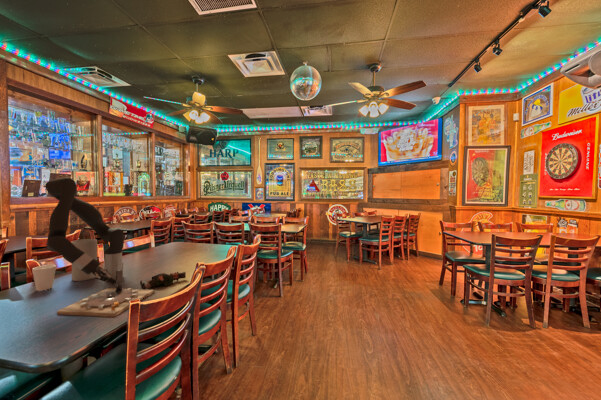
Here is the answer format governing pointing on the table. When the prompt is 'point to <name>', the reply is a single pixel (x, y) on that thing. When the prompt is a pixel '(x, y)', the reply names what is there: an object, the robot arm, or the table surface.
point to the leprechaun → (163, 279)
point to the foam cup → (44, 276)
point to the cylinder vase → (89, 248)
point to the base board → (107, 310)
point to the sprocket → (110, 295)
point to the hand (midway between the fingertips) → (115, 282)
